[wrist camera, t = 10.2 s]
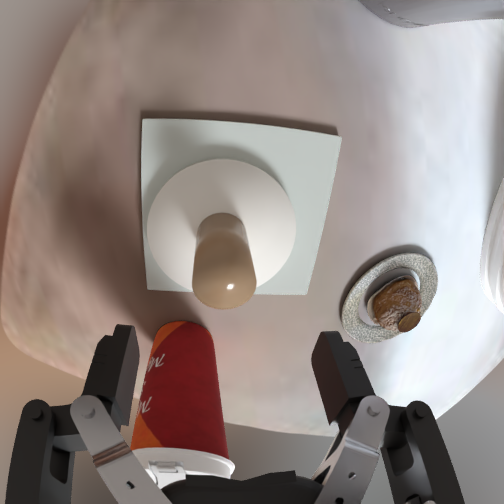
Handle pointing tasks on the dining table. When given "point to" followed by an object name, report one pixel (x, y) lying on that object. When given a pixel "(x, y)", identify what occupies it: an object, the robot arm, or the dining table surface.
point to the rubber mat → (255, 152)
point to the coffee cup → (181, 408)
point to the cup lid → (221, 230)
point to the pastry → (391, 299)
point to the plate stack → (494, 253)
